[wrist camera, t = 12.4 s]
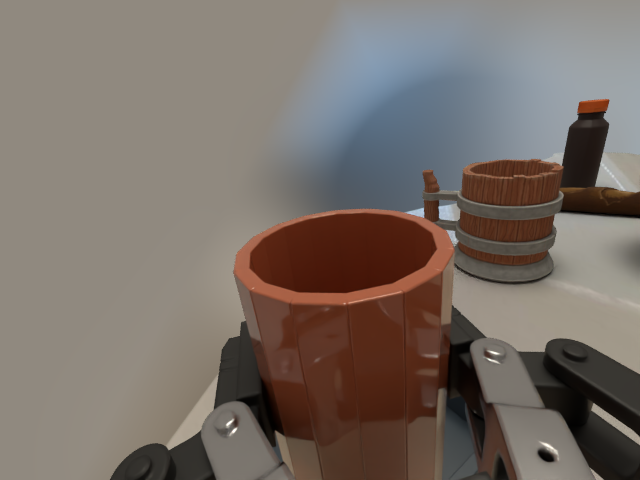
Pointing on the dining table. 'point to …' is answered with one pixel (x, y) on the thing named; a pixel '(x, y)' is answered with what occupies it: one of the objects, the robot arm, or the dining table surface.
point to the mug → (502, 217)
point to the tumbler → (352, 341)
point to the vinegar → (585, 145)
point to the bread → (600, 200)
